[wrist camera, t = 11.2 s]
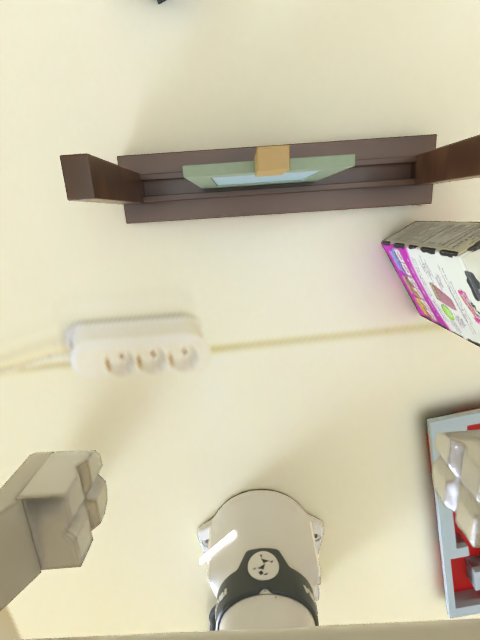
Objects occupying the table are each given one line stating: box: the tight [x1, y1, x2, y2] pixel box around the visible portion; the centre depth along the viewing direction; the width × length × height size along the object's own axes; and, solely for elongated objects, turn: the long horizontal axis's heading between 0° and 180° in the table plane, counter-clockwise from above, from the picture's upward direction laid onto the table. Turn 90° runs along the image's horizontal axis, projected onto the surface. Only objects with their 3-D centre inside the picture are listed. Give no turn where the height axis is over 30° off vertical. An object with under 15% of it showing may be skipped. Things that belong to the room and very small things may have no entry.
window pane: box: [182, 145, 355, 189], centre depth 31 cm, size 1×12×18 cm, turn 94°
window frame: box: [60, 134, 480, 224], centre depth 34 cm, size 7×34×17 cm, turn 94°
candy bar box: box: [381, 221, 480, 347], centre depth 37 cm, size 11×5×16 cm, turn 34°
